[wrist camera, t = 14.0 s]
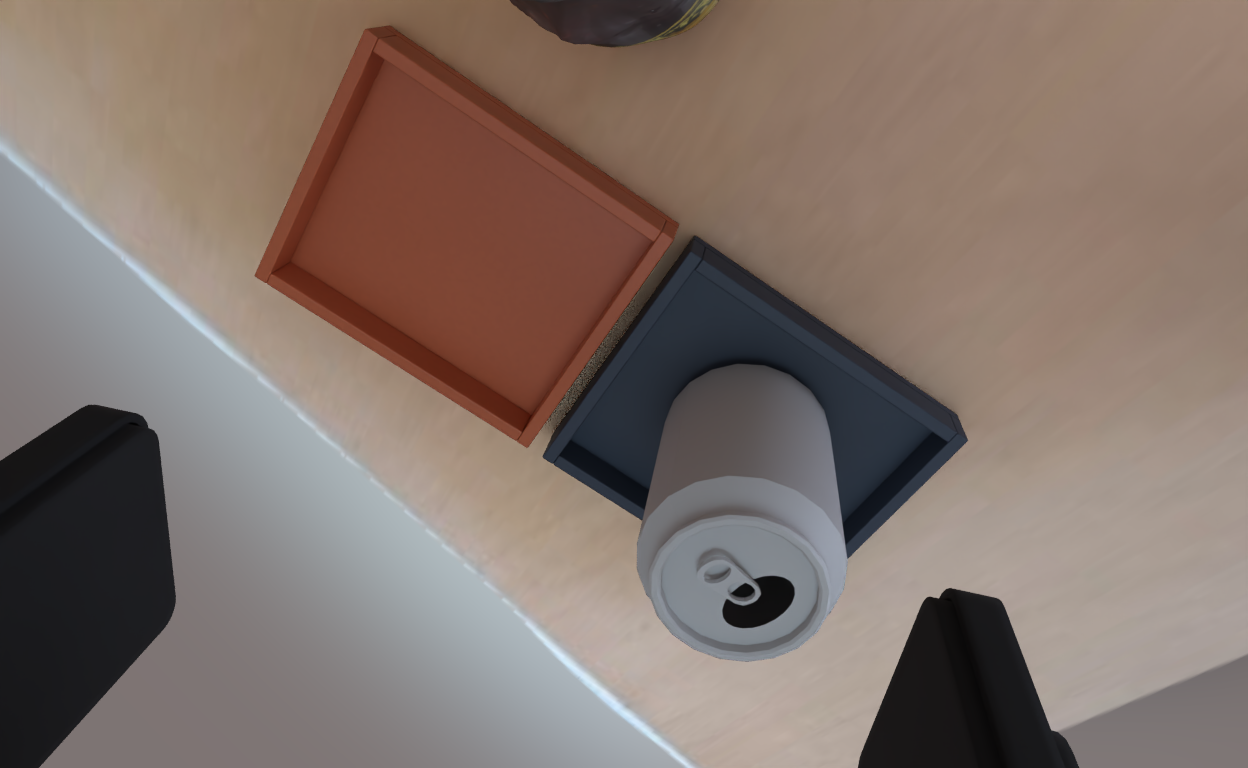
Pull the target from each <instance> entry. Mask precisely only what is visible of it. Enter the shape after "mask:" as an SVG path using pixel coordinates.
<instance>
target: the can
mask: <svg viewBox="0 0 1248 768" xmlns="http://www.w3.org/2000/svg"><path fill="white" fill-rule="evenodd" d="M847 563H848V561H847V553H846V546H845V539H844V531H843V524H842V517H841V509H840V502H839V495H838V487H837V480H836V473H835V465H834V458H833V451H832V443H831V436H830V431H829V427H828V423H827V419H826V415H825V411H824V409H823V408H822V406H821V405H820V403H819V402H818V401H817V399H816V398H815V396H814V395H813V393H812V392H811V390H809V389H808V388H807V387H806V386H804V385H803V384H802V383H800V382H799V381H798V380H796V379H795V378H794V377H792V376H791V375H789V374H787V373H784V372H781V371H778V370H776V369H773V368H770V367H768V366H765V365H749V364H734V365H730V366H726V367H721V368H717V369H712V370H710V371H708V372H707V373H705V374H703V375H702V376H700V377H698V378H696V379H695V380H693V381H691V382H689V384H688V385H687V386H686V387H685V388H684V389H683V390H682V391H681V393H680V394H679V395H678V396H677V397H676V398H675V399H674V401H673V403H672V406H671V408H670V411H669V413H668V416H667V418H666V421H665V424H664V428H663V433H662V437H661V442H660V446H659V450H658V455H657V459H656V463H655V468H654V472H653V476H652V481H651V485H650V490H649V494H648V498H647V503H646V507H645V511H644V516H643V520H642V524H641V529H640V533H639V538H638V542H637V570H638V573H639V576H640V579H641V581H642V584H643V587H644V589H645V592H646V595H647V596H648V597H649V598H650V599H651V601H652V603H653V606H654V609H655V612H656V614H657V616H658V617H659V619H660V620H661V621H662V622H663V624H664V625H665V626H666V627H667V628H668V630H669V631H670V632H671V633H672V635H674V636H675V637H677V638H678V639H680V640H681V641H682V642H684V643H685V644H687V645H688V646H690V647H691V648H693V649H694V650H697V651H700V652H702V653H705V654H708V655H711V656H714V657H716V658H719V659H727V660H736V661H745V662H749V661H756V660H764V659H771V658H776V657H778V656H780V655H783V654H785V653H788V652H790V651H792V650H795V649H797V648H799V647H800V646H801V645H803V644H804V643H805V642H806V641H807V640H808V639H810V638H811V637H812V636H813V635H814V634H816V633H817V632H818V630H819V628H820V627H821V625H822V623H823V621H824V620H825V618H826V616H827V615H828V614H829V613H830V612H831V610H832V609H833V607H834V605H835V604H836V602H837V600H838V598H839V597H840V595H841V593H842V591H843V590H844V585H845V578H846V571H847Z"/></svg>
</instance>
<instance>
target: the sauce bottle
mask: <svg viewBox="0 0 1248 768" xmlns="http://www.w3.org/2000/svg"><path fill="white" fill-rule="evenodd" d="M510 1H511V2H512V4H513V5H515V6H516V7H517V8H518V9H519V10H521V11H523V12H524V13H525V14H526V15H527V16H529V17H531V18H532V19H533V20H534V21H535V22H536V23H537V24H538V25H539V26H541V27H542V28H544V29H545V30H547V31H550V32H552V33H554V34H556V35H557V36H559V38H560V39H561V40H563V41H567V42H570V43H573V44H591V45H596V46H602V47H626V46H632V45H637V44H642V43H647V42H651V41H656V40H662V39H665V38H669V37H672V36H676V35H678V34H680V33H683V32H685V31H687V30H689V29H691V28H693V27H694V26H695V25H697V24H698V23H699V22H700V21H702V20H703V19H704V18H705V17H706V16H707V15H708V14H709V13H710V12H711V10H712V9H713V8H714V7H715V6H716V4H717V3H718V1H719V0H510Z"/></svg>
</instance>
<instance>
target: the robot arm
mask: <svg viewBox="0 0 1248 768" xmlns="http://www.w3.org/2000/svg"><path fill="white" fill-rule="evenodd" d="M175 602H176V595H175V586H174V576H173V568H172V559H171V549H170V540H169V531H168V522H167V513H166V504H165V494H164V485H163V476H162V467H161V457H160V449H159V440H158V437H157V434H156V433H155V431H154V430H152V429H149V428H148V425H147V422H146V421H145V419H144V418H143V416H140V415H139V414H136V413H132V412H127V411H122V410H118V409H113V408H108V407H104V406H99V405H88V406H85V407H83V408H81V409H79V410H78V411H76V412H74V413H73V414H71V415H70V416H68V417H67V418H65V419H64V420H62V421H61V422H59V423H58V424H56V425H55V426H53V427H52V428H50V429H49V430H47V431H45V432H44V433H42V434H41V435H39V436H38V437H36V438H35V439H33V440H32V441H30V442H29V443H27V444H25V445H24V446H22V447H21V448H19V449H18V450H16V451H15V452H13V453H12V454H10V455H9V456H7V457H5V458H4V459H3V460H1V461H0V768H39V767H40V766H41V765H42V764H43V763H44V761H45V760H46V759H47V758H48V757H49V756H50V755H51V754H52V753H53V751H54V750H55V749H56V748H57V747H58V746H59V745H60V744H61V743H62V741H63V740H64V739H65V738H66V737H67V736H68V735H69V734H70V733H71V731H72V730H73V729H74V728H75V727H76V726H77V725H78V724H79V723H80V721H81V720H82V719H83V718H84V717H85V716H86V715H87V713H89V711H90V710H91V709H92V708H93V707H94V706H95V705H96V704H97V702H98V701H99V700H100V699H101V698H102V697H103V696H104V695H105V694H106V693H107V691H108V690H109V689H110V688H111V687H112V686H113V685H114V684H115V682H116V681H117V680H118V679H119V678H120V677H121V676H122V675H123V674H124V673H125V671H126V670H127V669H128V668H129V667H130V666H131V665H132V664H133V662H134V661H135V660H136V659H137V658H138V657H139V656H140V655H141V654H142V653H143V651H144V650H145V649H146V648H147V647H148V646H149V645H150V644H151V643H152V641H153V640H154V639H155V638H156V637H157V636H158V635H159V634H160V633H161V631H162V630H163V629H164V628H165V627H166V625H167V624H168V622H169V620H170V618H171V616H172V613H173V611H174V607H175ZM858 768H1079V766H1078V764H1077V761H1076V759H1075V756H1074V754H1073V752H1072V750H1071V748H1070V746H1069V744H1068V742H1067V740H1066V739H1065V738H1064V737H1063V736H1061V735H1060V734H1059V733H1058V732H1055V731H1051V729H1050V726H1049V724H1048V721H1047V718H1046V716H1045V713H1044V710H1043V708H1042V705H1041V702H1040V700H1039V697H1038V694H1037V692H1036V689H1035V686H1034V684H1033V681H1032V679H1031V676H1030V673H1029V671H1028V668H1027V665H1026V663H1025V660H1024V657H1023V655H1022V652H1021V649H1020V647H1019V644H1018V641H1017V639H1016V636H1015V633H1014V631H1013V628H1012V625H1011V623H1010V620H1009V617H1008V615H1007V612H1006V610H1005V607H1004V605H1003V603H1002V602H1001V601H1000V600H999V599H997V598H994V597H989V596H984V595H980V594H975V593H970V592H966V591H961V590H956V589H952V588H949V589H946V590H945V591H944V592H943V593H942V594H941V596H940V598H939V599H938V598H933V597H927V598H926V599H925V600H924V602H923V604H922V605H921V608H920V610H919V613H918V615H917V618H916V620H915V622H914V625H913V627H912V630H911V632H910V635H909V637H908V640H907V642H906V645H905V647H904V650H903V652H902V654H901V657H900V659H899V662H898V664H897V667H896V669H895V672H894V674H893V677H892V679H891V681H890V684H889V686H888V689H887V691H886V694H885V696H884V699H883V701H882V704H881V706H880V709H879V711H878V713H877V716H876V718H875V721H874V723H873V726H872V728H871V731H870V733H869V736H868V738H867V740H866V743H865V745H864V748H863V750H862V753H861V756H860V760H859V765H858Z"/></svg>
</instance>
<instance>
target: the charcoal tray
mask: <svg viewBox="0 0 1248 768" xmlns="http://www.w3.org/2000/svg"><path fill="white" fill-rule="evenodd" d="M734 364H749V365H765V366H768V367H770V368H773V369H776V370H778V371H781V372H784V373H787V374H789V375H791V376H792V377H794V378H795V379H796V380H798V381H799V382H800V383H802V384H803V385H804V386H806V387H807V388H808V389H809V390H811V392H812V393H813V395H814V396H815V398H816V399H817V401H818V402H819V403H820V405H821V406H822V408H823V409H824V411H825V415H826V419H827V423H828V427H829V431H830V436H831V443H832V451H833V458H834V465H835V473H836V480H837V487H838V495H839V502H840V509H841V517H842V524H843V531H844V539H845V546H846V553H847V559H848V558H849V557H850V556H851V555H852V554H853V553H854V552H855V551H856V550H857V549H858V548H859V547H860V546H861V545H862V544H863V543H864V542H865V541H866V540H867V539H868V538H869V537H870V536H871V535H872V534H873V533H874V532H875V531H876V530H877V529H879V528H880V527H881V526H882V525H883V524H884V523H885V522H886V521H887V520H888V519H889V518H890V517H891V516H892V515H893V514H894V513H895V512H896V511H897V510H898V509H899V508H900V507H901V506H902V505H903V504H904V503H905V502H906V501H907V500H908V499H909V498H910V497H911V496H912V495H913V494H914V493H915V492H916V491H917V490H918V489H919V488H920V487H921V486H922V485H923V484H924V483H925V482H926V481H927V480H928V479H929V478H930V477H931V476H933V475H934V474H935V473H936V472H937V471H938V470H939V469H940V468H941V467H942V466H943V465H944V464H945V463H946V462H947V461H948V460H949V459H950V458H951V457H952V456H953V455H954V454H955V453H956V452H957V451H958V450H959V449H960V448H961V447H962V446H963V445H964V444H965V443H966V442H967V441H968V439H967V437H966V435H965V432H964V430H963V428H962V425H961V423H960V420H959V418H958V416H957V414H955V413H954V412H952V411H951V410H949V409H948V408H946V407H945V406H943V405H942V404H940V403H939V402H938V401H936V400H935V399H933V398H932V397H930V396H929V395H927V394H926V393H924V392H923V391H922V390H920V389H919V388H917V387H916V386H914V385H913V384H911V383H910V382H908V381H907V380H905V379H904V378H903V377H901V376H900V375H898V374H897V373H895V372H894V371H892V370H891V369H889V368H888V367H887V366H885V365H884V364H882V363H881V362H879V361H878V360H876V359H875V358H873V357H872V356H870V355H869V354H868V353H866V352H865V351H863V350H862V349H860V348H859V347H857V346H856V345H854V344H853V343H851V342H850V341H849V340H847V339H846V338H844V337H843V336H841V335H840V334H838V333H837V332H835V331H834V330H833V329H831V328H830V327H828V326H827V325H825V324H824V323H822V322H821V321H819V320H818V319H816V318H815V317H814V316H812V315H811V314H809V313H808V312H806V311H805V310H803V309H802V308H800V307H799V306H797V305H796V304H795V303H793V302H792V301H790V300H789V299H787V298H786V297H784V296H783V295H781V294H780V293H779V292H777V291H776V290H774V289H773V288H771V287H770V286H768V285H767V284H765V283H764V282H762V281H761V280H760V279H758V278H757V277H755V276H754V275H752V274H751V273H749V272H748V271H746V270H745V269H744V268H742V267H741V266H739V265H738V264H736V263H735V262H733V261H732V260H730V259H729V258H727V257H726V256H725V255H723V254H722V253H720V252H719V251H717V250H716V249H714V248H713V247H711V246H710V245H708V244H707V243H706V242H704V241H703V240H701V239H700V238H698V237H697V236H694V237H693V238H692V240H691V241H690V243H689V244H688V245H687V247H686V248H685V250H684V251H683V252H682V254H681V255H680V257H679V258H678V259H677V261H676V262H675V264H674V265H673V266H672V268H671V269H670V271H669V272H668V273H667V275H666V276H665V278H664V279H663V280H662V282H661V283H660V285H659V286H658V287H657V289H656V290H655V292H654V293H653V294H652V296H651V297H650V299H649V300H648V301H647V303H646V304H645V306H644V307H643V308H642V310H641V311H640V313H639V314H638V315H637V317H636V318H635V320H634V321H633V322H632V324H631V325H630V327H629V328H628V329H627V331H626V332H625V334H624V335H623V336H622V338H621V339H620V341H619V342H618V343H617V345H616V346H615V348H614V349H613V350H612V352H611V353H610V355H609V356H608V357H607V359H606V360H605V362H604V363H603V364H602V366H601V367H600V369H599V370H598V371H597V373H596V374H595V376H594V377H593V378H592V380H591V381H590V383H589V384H588V385H587V387H586V388H585V390H584V391H583V392H582V394H581V395H580V397H579V398H578V399H577V401H576V402H575V404H574V405H573V406H572V408H571V409H570V411H569V412H568V413H567V415H566V416H565V418H564V419H563V420H562V422H561V423H560V425H559V426H558V427H557V429H556V430H555V432H554V433H553V435H552V437H551V439H550V442H549V444H548V446H547V448H546V450H545V452H544V455H543V458H544V459H546V460H547V461H549V462H550V463H554V465H555V466H557V467H558V468H560V469H561V470H563V471H565V472H566V473H568V474H569V475H571V476H573V477H574V478H576V479H577V480H579V481H581V482H582V483H584V484H585V485H587V486H588V487H590V488H592V489H593V490H595V491H596V492H598V493H600V494H601V495H603V496H604V497H606V498H607V499H609V500H611V501H612V502H614V503H615V504H617V505H619V506H620V507H622V508H623V509H625V510H626V511H628V512H630V513H631V514H633V515H634V516H636V517H638V518H639V519H641V520H643V516H644V511H645V507H646V503H647V498H648V494H649V490H650V485H651V481H652V476H653V472H654V468H655V463H656V459H657V455H658V450H659V446H660V442H661V437H662V433H663V428H664V424H665V421H666V418H667V416H668V413H669V411H670V408H671V406H672V403H673V401H674V399H675V398H676V397H677V396H678V395H679V394H680V393H681V391H682V390H683V389H684V388H685V387H686V386H687V385H688V384H689V382H691V381H693V380H695V379H696V378H698V377H700V376H702V375H703V374H705V373H707V372H708V371H710V370H712V369H717V368H721V367H726V366H730V365H734Z"/></svg>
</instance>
